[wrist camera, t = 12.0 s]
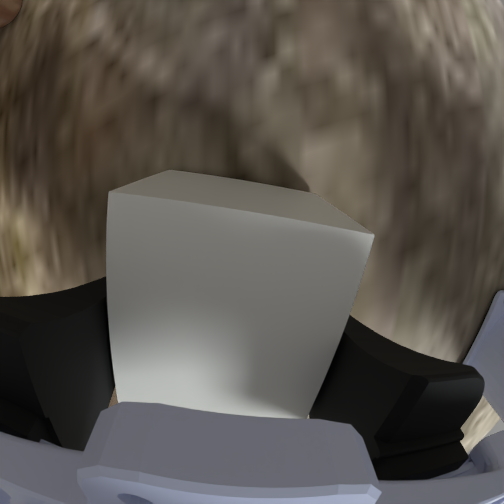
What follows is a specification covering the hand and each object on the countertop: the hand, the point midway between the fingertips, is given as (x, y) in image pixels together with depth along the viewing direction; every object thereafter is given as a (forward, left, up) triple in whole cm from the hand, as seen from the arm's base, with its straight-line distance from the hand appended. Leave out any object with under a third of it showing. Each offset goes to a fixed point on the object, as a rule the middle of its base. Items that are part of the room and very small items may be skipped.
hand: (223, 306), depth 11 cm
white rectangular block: (0, 0, -2) cm, 2 cm away
